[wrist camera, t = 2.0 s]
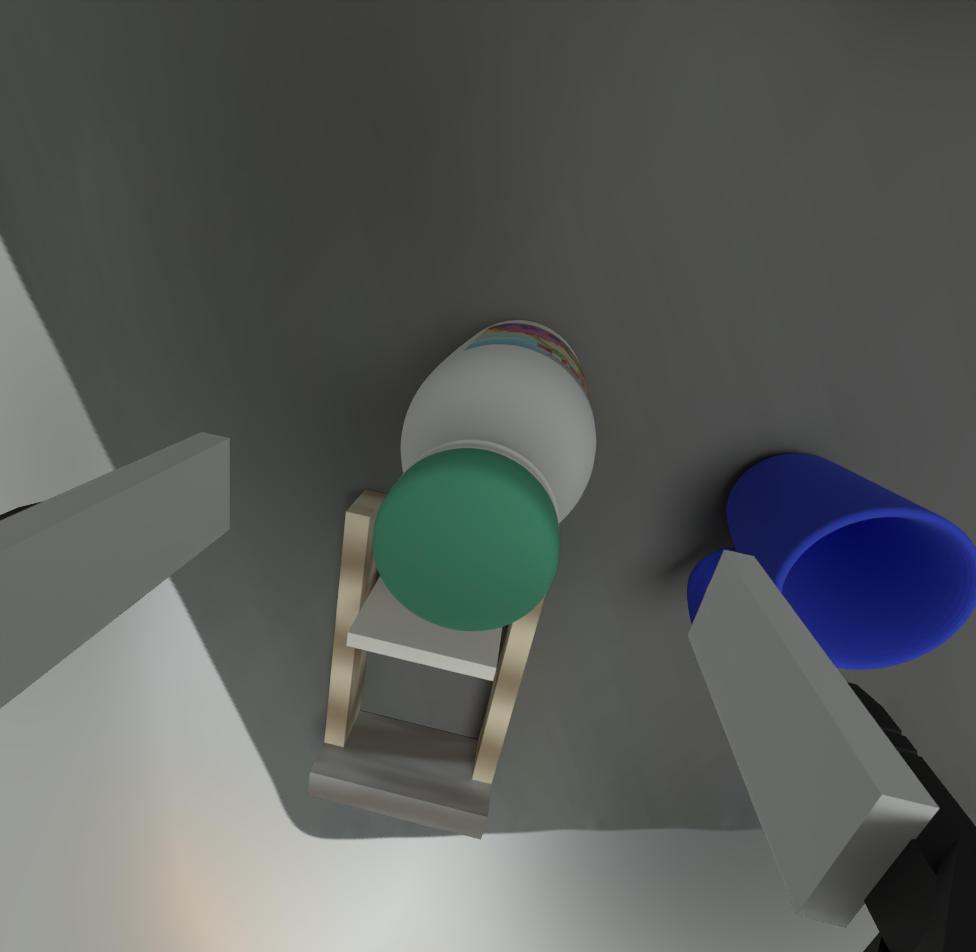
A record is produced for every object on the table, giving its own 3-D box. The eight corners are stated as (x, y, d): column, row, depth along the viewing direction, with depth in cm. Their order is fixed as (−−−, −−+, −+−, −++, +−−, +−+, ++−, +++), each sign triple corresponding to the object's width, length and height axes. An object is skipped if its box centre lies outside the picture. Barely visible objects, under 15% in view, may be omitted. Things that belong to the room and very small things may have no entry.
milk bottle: (506, 470, 32) (443, 728, 14) (428, 373, 31) (240, 523, 12) (609, 398, 30) (697, 598, 12) (530, 289, 28) (487, 318, 10)
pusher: (384, 567, 36) (347, 632, 29) (506, 596, 35) (496, 668, 29) (378, 613, 37) (342, 683, 31) (495, 640, 37) (483, 718, 31)
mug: (631, 527, 33) (660, 626, 24) (805, 407, 29) (922, 470, 20) (706, 611, 35) (761, 734, 25) (881, 508, 30) (1023, 609, 21)
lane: (365, 489, 34) (329, 530, 29) (555, 532, 34) (555, 583, 28) (339, 727, 43) (308, 795, 37) (490, 765, 42) (480, 839, 37)
